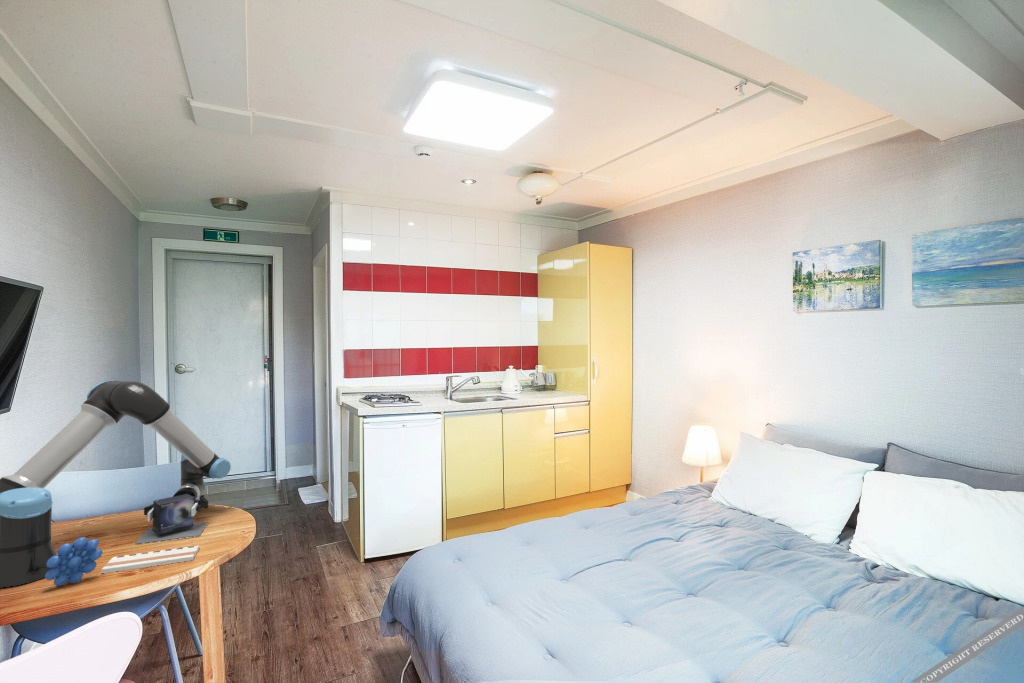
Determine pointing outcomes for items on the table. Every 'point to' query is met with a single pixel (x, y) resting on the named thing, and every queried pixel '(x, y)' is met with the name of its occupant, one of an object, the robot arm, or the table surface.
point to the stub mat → (172, 534)
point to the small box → (172, 514)
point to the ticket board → (150, 559)
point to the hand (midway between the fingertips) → (170, 514)
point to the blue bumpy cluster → (73, 561)
